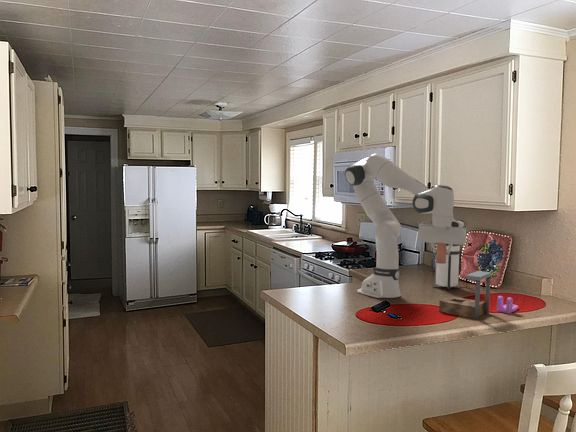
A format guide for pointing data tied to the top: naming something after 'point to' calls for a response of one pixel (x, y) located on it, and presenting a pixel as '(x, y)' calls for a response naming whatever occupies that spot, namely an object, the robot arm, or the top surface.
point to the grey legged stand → (479, 276)
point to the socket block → (460, 306)
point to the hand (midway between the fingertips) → (441, 253)
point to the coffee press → (449, 268)
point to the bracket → (508, 307)
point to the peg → (441, 253)
